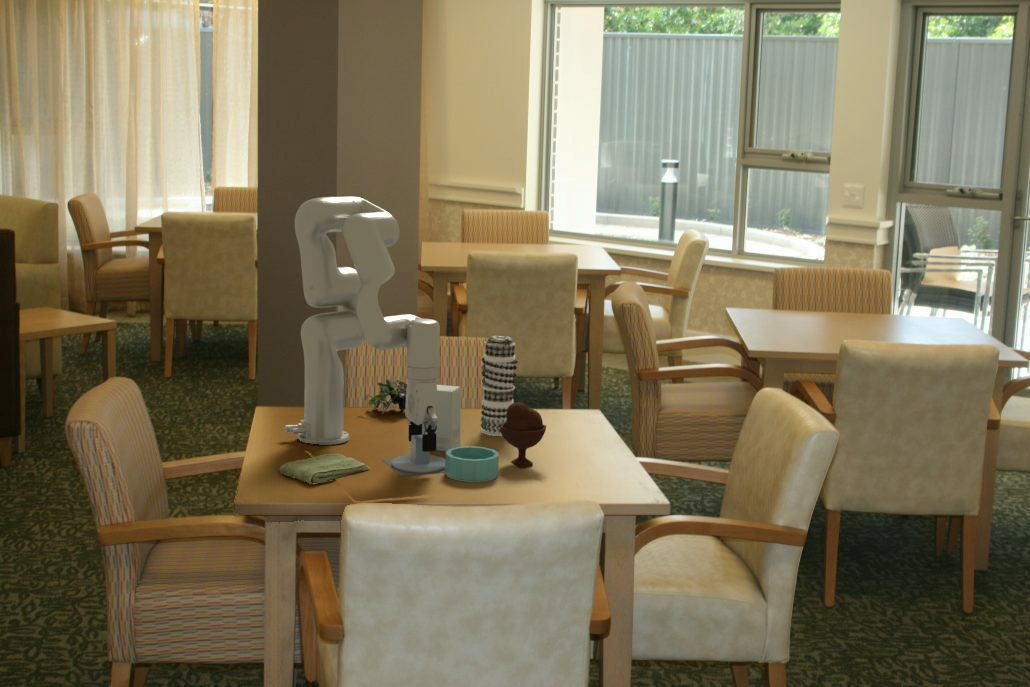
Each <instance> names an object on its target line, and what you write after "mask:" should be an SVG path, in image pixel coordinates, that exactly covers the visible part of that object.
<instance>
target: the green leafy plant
mask: <svg viewBox="0 0 1030 687" xmlns="http://www.w3.org/2000/svg"><path fill="white" fill-rule="evenodd" d="M396 382H397V383H398V384H397V383H396ZM396 382H395V381H393V380H392V381H391V379H390V378H387V379H386V380H385V382H384V383H382V382H380V381H377V385H378V387H379V389H380V391H379V393H378V394H376V395H374V396H371V395H370V394H369V393H366V396H364V399H363V400H364V401H365V402H366V401H367V399H368V397H369V398H371V399H369V401H368V403H367V404H368V407H371V406H372V405H373V407H374V408H373V409H374V410H377V409H378V408H379V406H380V405H381V403H382V413H381V414H380V416H381V415H382V416H383V415H384V413H385V411H386V410H387V409H388V408H390V405H391V404H393V405H398V409H399V410H400V412H405V406H406V389H407V382H405V381H403V380H402V379H397V380H396ZM388 396H390V399H389V400H388V401H387V400H386V398H387V397H388Z"/></svg>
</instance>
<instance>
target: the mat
mask: <svg viewBox="0 0 1030 687" xmlns="http://www.w3.org/2000/svg"><path fill="white" fill-rule="evenodd" d="M432 455H433V454H432ZM433 456H438V457H441V456H440V455H439V454H435V455H433ZM394 458H395V457H394ZM394 458H383V459H381V460H382V461H383V463H385V464H386V465H387V466H388V467H390V468H391V470H393V471H394V472H395V473H396V474H398V476H400V477H405V476H407V477H408V476H417V475H418V476H419V475H420V476H421V475H430V474H431V475H432V474H442V473H445V469H444V470H442V471H439V472H433V473H410V472H404V471H400V470H397V469H395V468H393V467H392V460H393V459H394ZM445 474H446V473H445Z"/></svg>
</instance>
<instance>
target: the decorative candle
mask: <svg viewBox="0 0 1030 687" xmlns="http://www.w3.org/2000/svg"><path fill="white" fill-rule="evenodd" d="M483 344H485V348H484V350H485V352H484V354H483V355H484V357H482V358H481V362H482V363H483V364H482V365H481V369H482V371H481V376H482V377H483V378H482V379H481V383H482V386H481V387H482V389H483V398H482V405H481V409H482V410H481V412H480V413H481V415H482V416H481V417H480V421H481V423H480V427H481V429H480V433H481V434H483V433H484V434H483V435H486V434H487V435H486V436H491V435H492V436H493V437H502V436H501V435H502V434H501V431H500V425H501V424H502V423H503V422H506V421H507V418H506V413H507V408H508V407H509V406H510V405H511V404H513V403H514V398H513V397H514V390H515V389H516V387H515V385H514V384H515V383H516V382H517V380H516V379H515V377H517V374H516V373H515V372H514V371H516V370H517V369H518V366H516V364H518V360H517V359H516V354H515V352H516V351H515V350H516V348H515V347H516V344H517V343H515V342H514V341H513V339H512V337H510V336H506V335H492V336H489V338H487V340H486V341H484V343H483ZM492 436H491V437H492Z"/></svg>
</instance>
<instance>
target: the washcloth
mask: <svg viewBox="0 0 1030 687" xmlns="http://www.w3.org/2000/svg"><path fill="white" fill-rule="evenodd" d="M370 470H371V466H368V465H366V463H364V462H360V461H358V460H357V459H355V458H353V457H346V456H345V455H343V454H342V453H339V452H337V453H334V452H333V453H325V454H321V455H320V454H319V455H318V456H312V457H309V458H305V459H297V460H293V461H288V462H286V463H285V464H284V463H283V464H282V465H281V466H280V468H279V472H280V474H281V473H283V474H286V475H289V476H291V477H295V478H297V480H298V479H300V480H299V481H301V480H302V481H305V482H307V483H306V484H308V483H310V484H313V483H322V484H324V483H323V482H326V481H330V480H335V479H337V478H340V477H341V478H342V477H344V476H348V475H353V474H355V473H356V474H357V473H360V472H365V471H367V472H368V471H370ZM283 474H282V475H283ZM286 475H285V476H286ZM289 476H288V477H289ZM291 477H290V478H291ZM295 478H294V479H295ZM302 481H301V482H302ZM335 481H336V480H335ZM305 482H304V483H305ZM310 484H309V485H310Z"/></svg>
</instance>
